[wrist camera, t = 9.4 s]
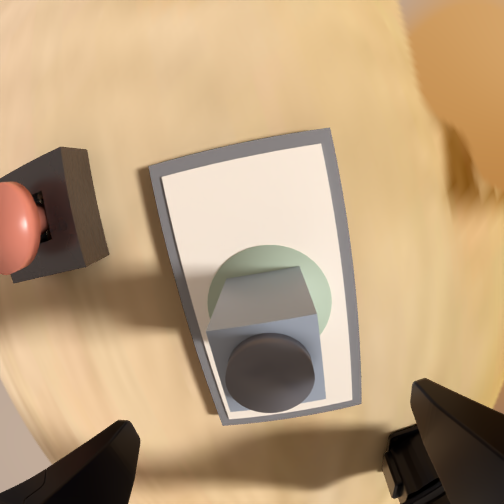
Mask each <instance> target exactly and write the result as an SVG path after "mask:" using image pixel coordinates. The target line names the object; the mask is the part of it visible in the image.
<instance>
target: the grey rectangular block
mask: <svg viewBox="0 0 504 504" xmlns="http://www.w3.org/2000/svg"><path fill="white" fill-rule="evenodd" d="M206 334H207V337H208V341H209V344H210V348H211V351H212V355H213V358H214V361H215V365H216V368H217V371H218V375H219V378H220V381H221V384H222V388H223V391H224V394H225V397H226V400H227V403H228V406H229V409H230V412H236V411H247V410H253V411H256V412H261V413H277V412H283V411H286V410H289V409H292V408H294V407H295V406H297V405H299V404H300V403H306V402H312V401H317V400H323V399H326V392H325V381H324V371H323V361H322V351H321V342H320V333H319V325H318V317H317V312H316V309H315V307H314V304H313V301H312V298H311V296H310V293H309V290H308V287H307V285H306V282H305V279H304V277H303V274H302V271H301V269H300V266H297V267H291V268H286V269H280V270H274V271H269V272H263V273H257V274H251V275H245V276H239V277H233V278H227V279H226V281H225V283H224V286H223V289H222V291H221V294H220V296H219V299H218V301H217V304H216V306H215V309H214V311H213V314H212V317H211V319H210V322H209V324H208V327H207V329H206Z"/></svg>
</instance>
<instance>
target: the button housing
mask: <svg viewBox="0 0 504 504" xmlns="http://www.w3.org/2000/svg"><path fill="white" fill-rule="evenodd" d="M1 182H18V183H20V184H22V185H23V186H24V187H25V188H26V189H27V190H28V191H29V192H30V194H31V195H32V197H33V199H34V201H35V203H36V204H37V203H40V201H39V200H40V199H42V198H43V200H44V205H45V210H46V215H47V220H48V224H49V228H50V233H51V237H52V239H51V240H48V237H47V233H44V234H42V235H41V236H40V244H39V248H38V252H37V254H36V256H35V258H34V260H33V261H32V263H31V264H29V265H28V266H27V267H25V268H23V269H21V270H18V271H16V272H14V273H12V274H11V277H12V280H13V283H18V282H22V281H26V280H30V279H35V278H39V277H43V276H48V275H52V274H57V273H61V272H66V271H70V270H74V269H79V268H84V267H87V266H89V265H91V264H92V263H94V262H96V261H98V260H100V259H102V258H104V257H106V256H107V255H109V251H108V247H107V243H106V240H105V236H104V232H103V228H102V223H101V219H100V215H99V210H98V206H97V201H96V196H95V192H94V187H93V181H92V176H91V171H90V165H89V159H88V153H87V150H86V149H77V148H68V147H59V148H57V149H55V150H53V151H51V152H48V153H46V154H44V155H42V156H40V157H38V158H37V159H35V160H33V161H31V162H29V163H27V164H25V165H23V166H21V167H20V168H18V169H16V170H14V171H12V172H11V173H9V174H7V175H5V176H4V177H2V178H0V183H1Z"/></svg>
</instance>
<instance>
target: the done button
mask: <svg viewBox="0 0 504 504" xmlns="http://www.w3.org/2000/svg"><path fill="white" fill-rule="evenodd" d="M48 229H49V224H48V220H47V215H46V210H45V206H44V205H43V204H41V203H37V204H36V203H35V201H34V199H33V197H32V195H31V194H30V192H29V191H28V190H27V189H26V188H25V187H24V186H23V185H22V184H20V183H18V182H1V183H0V274H3V275H9V274H12V273H14V272H16V271H18V270H21V269H23V268H25V267H27V266H28V265H29V264H31V263H32V261H33V260H34V258H35V256H36V254H37V252H38V248H39V244H40V236H41V235H42V234H44V233H46V232H47V230H48Z"/></svg>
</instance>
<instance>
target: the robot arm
mask: <svg viewBox="0 0 504 504" xmlns="http://www.w3.org/2000/svg"><path fill="white" fill-rule="evenodd" d="M410 404H411V408H412V411H413V414H414V417H415V420H416V423H417V426H414V427H411V428H408V429H405V430H402V431H399V432H396V433H393V434H391V435H390V436H389V438H388V446H387V452H385V454H384V458H383V465H382V470H383V473H384V476H385V479H386V482H387V485H388V488H389V491H390V494H391V497H392V498H394V499H395V498H398V499H399V502H400V504H504V414H502V413H500V412H498V411H495V410H493V409H491V408H489V407H487V406H484V405H482V404H480V403H478V402H476V401H473V400H471V399H469V398H467V397H465V396H463V395H460V394H458V393H456V392H454V391H452V390H450V389H448V388H445V387H443V386H441V385H439V384H437V383H435V382H433V381H431V380H429V379H426V378H423V379H420V380H417V381H414V382H413V384H412V391H411V400H410ZM139 448H140V438H139V435H138V434H137V432H136V430H135V428H134V427H133V425H132V423H131V422H130V421H128V420H118V421H116V422H115V423H113V424H112V425H110V426H109V427H107V428H106V429H105V430H103V431H102V432H100V433H99V434H97V435H96V436H95V437H93V438H92V439H90V440H89V441H87V442H86V443H84V444H83V445H81V446H80V447H78V448H77V449H75V450H74V451H72V452H71V453H69V454H68V455H66V456H65V457H63V458H62V459H60V460H59V461H57V462H56V463H54V464H53V465H51V466H50V467H48V468H47V469H45V470H43V471H42V472H40V473H38V474H37V475H35V476H33V477H32V478H30V479H28V480H26V481H24V482H23V483H21V484H19V485H17V486H15V487H12V488H10V489H8V490H6V491H4V492H2V493H0V504H128V502H129V498H130V494H131V491H132V487H133V483H134V479H135V474H136V467H137V461H138V454H139Z"/></svg>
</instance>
